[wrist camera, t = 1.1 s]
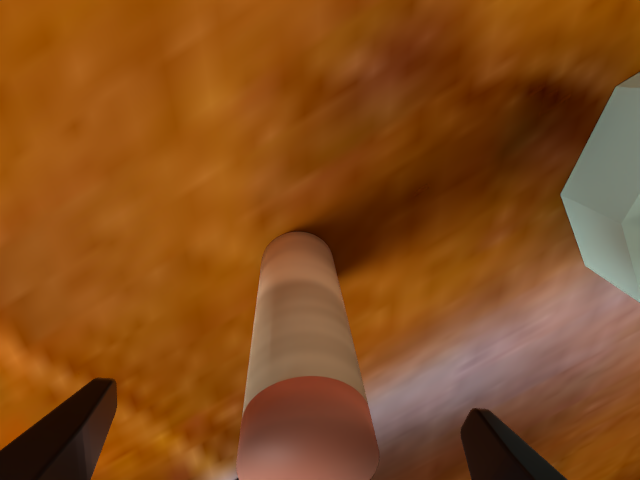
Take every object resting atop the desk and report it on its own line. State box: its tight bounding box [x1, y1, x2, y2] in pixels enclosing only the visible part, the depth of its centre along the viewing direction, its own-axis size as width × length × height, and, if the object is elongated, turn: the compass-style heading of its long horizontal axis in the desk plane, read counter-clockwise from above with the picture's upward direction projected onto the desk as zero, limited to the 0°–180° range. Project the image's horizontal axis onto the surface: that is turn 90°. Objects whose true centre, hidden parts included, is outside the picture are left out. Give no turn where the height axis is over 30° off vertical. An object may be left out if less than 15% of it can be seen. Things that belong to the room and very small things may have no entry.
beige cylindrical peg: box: [236, 232, 380, 480], centre depth 11 cm, size 3×3×8 cm
